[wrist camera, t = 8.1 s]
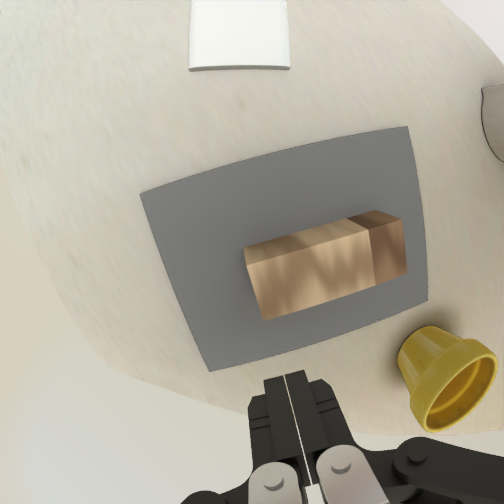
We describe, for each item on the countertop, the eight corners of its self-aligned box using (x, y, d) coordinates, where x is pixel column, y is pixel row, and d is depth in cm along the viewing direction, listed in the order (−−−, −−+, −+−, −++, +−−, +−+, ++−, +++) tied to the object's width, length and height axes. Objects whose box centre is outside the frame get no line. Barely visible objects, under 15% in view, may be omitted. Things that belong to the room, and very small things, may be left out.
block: (246, 265, 20) (401, 219, 20) (243, 247, 25) (375, 209, 25) (263, 321, 22) (407, 273, 22) (257, 295, 26) (382, 256, 26)
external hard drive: (190, 73, 21) (194, -31, 18) (288, 72, 22) (280, -32, 18) (188, 67, 20) (193, -40, 16) (292, 66, 20) (283, -40, 17)
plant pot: (458, 344, 31) (501, 384, 22) (399, 394, 32) (433, 444, 23) (440, 293, 29) (495, 334, 19) (370, 352, 30) (410, 410, 20)
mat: (141, 193, 23) (139, 194, 23) (404, 126, 23) (407, 126, 23) (209, 368, 29) (209, 371, 28) (425, 298, 28) (427, 300, 28)
